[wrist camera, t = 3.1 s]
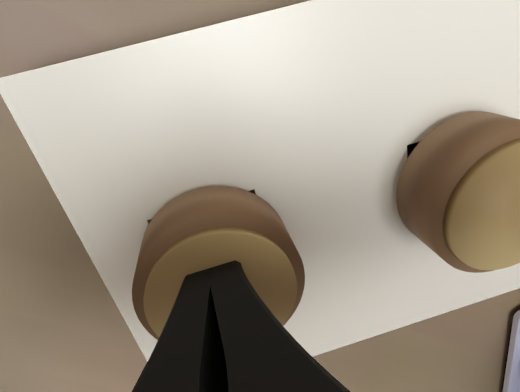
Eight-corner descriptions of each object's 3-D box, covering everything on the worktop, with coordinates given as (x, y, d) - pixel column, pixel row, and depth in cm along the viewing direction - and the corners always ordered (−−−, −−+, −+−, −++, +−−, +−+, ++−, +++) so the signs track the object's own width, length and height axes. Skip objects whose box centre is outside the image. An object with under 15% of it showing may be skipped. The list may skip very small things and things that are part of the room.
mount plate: (629, 204, 17) (696, 229, 15) (172, 350, 15) (170, 403, 13) (719, -101, 12) (844, -133, 10) (36, 70, 10) (-8, 79, 8)
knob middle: (464, 191, 14) (575, 253, 10) (365, 221, 14) (439, 297, 10) (469, 84, 12) (608, 106, 8) (354, 116, 12) (441, 156, 8)
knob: (280, 246, 14) (319, 334, 10) (172, 278, 14) (166, 384, 9) (255, 143, 12) (291, 198, 8) (129, 178, 12) (98, 255, 7)
